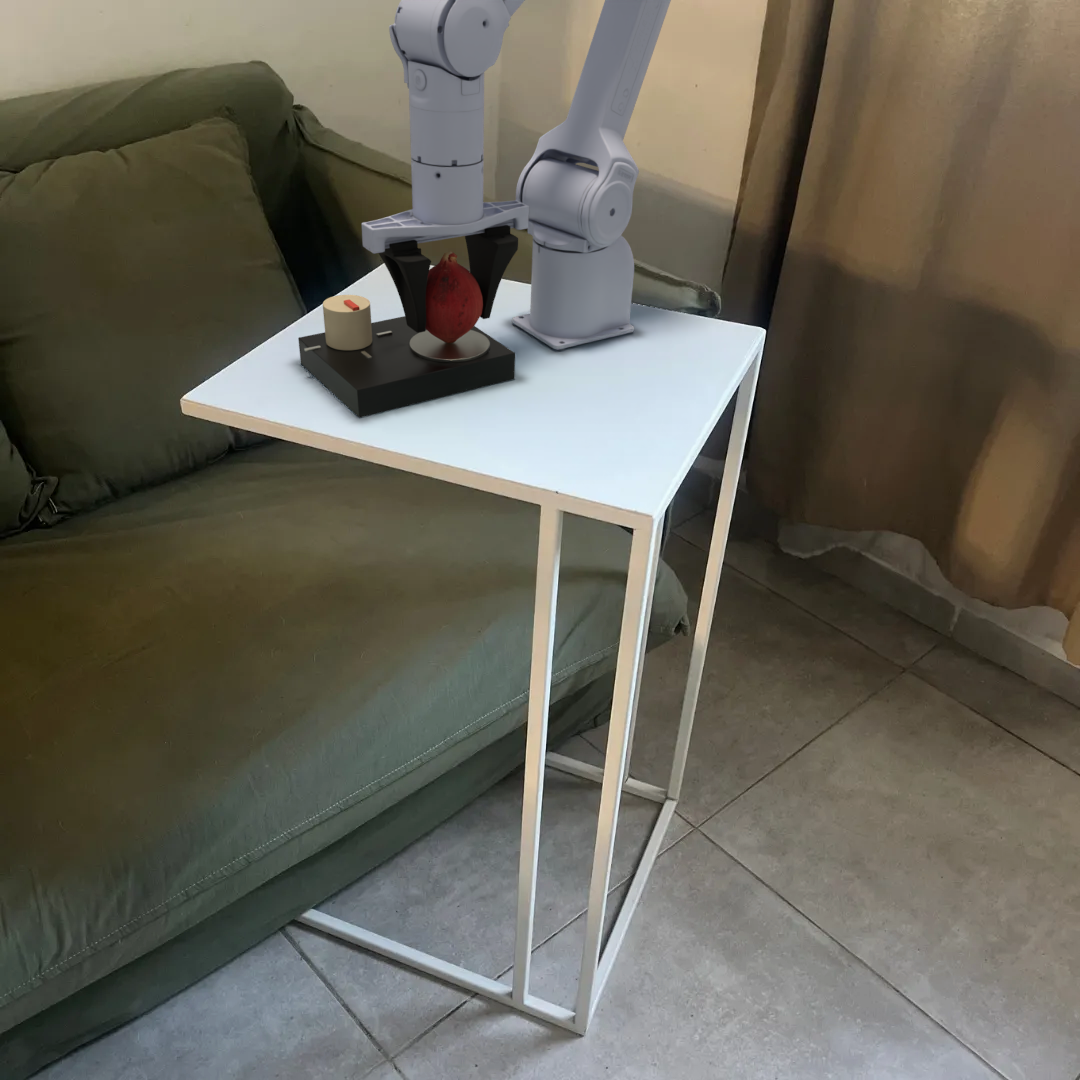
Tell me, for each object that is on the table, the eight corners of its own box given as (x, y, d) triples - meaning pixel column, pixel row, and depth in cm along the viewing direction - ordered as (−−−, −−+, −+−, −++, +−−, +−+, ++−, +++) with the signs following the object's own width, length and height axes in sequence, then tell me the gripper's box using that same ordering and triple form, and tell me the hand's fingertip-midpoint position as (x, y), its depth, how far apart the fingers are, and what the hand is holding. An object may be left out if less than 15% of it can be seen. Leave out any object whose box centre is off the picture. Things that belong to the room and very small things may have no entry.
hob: (441, 328, 98) (441, 301, 97) (514, 379, 89) (515, 351, 88) (289, 360, 91) (286, 332, 89) (352, 419, 82) (350, 389, 80)
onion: (472, 360, 86) (472, 267, 81) (407, 352, 86) (403, 260, 82) (489, 334, 90) (490, 245, 86) (426, 326, 91) (424, 238, 87)
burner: (464, 325, 93) (464, 321, 92) (505, 352, 88) (505, 349, 88) (395, 339, 89) (395, 336, 89) (434, 369, 85) (434, 365, 84)
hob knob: (318, 337, 89) (314, 296, 87) (359, 329, 91) (357, 288, 89) (338, 354, 86) (334, 311, 84) (380, 344, 88) (378, 303, 86)
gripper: (498, 138, 86) (496, 292, 93) (340, 155, 79) (351, 320, 87) (545, 157, 81) (538, 318, 89) (381, 177, 74) (389, 350, 82)
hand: (449, 321), depth 87 cm, fingers closed on onion, 6 cm apart
